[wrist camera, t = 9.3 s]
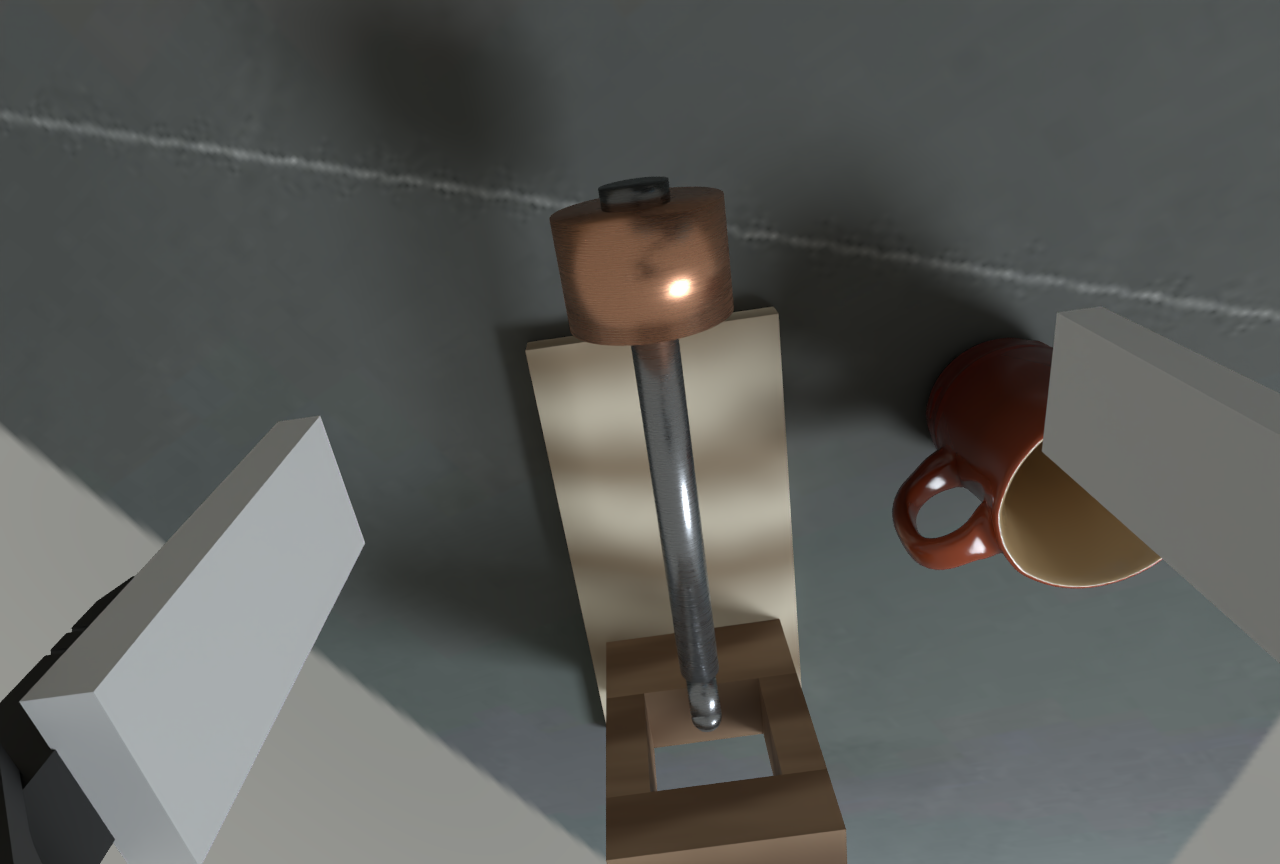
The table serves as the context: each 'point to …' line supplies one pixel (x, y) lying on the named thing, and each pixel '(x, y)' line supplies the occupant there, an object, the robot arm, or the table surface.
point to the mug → (1011, 478)
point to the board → (622, 489)
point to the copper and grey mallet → (658, 364)
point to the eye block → (750, 704)
